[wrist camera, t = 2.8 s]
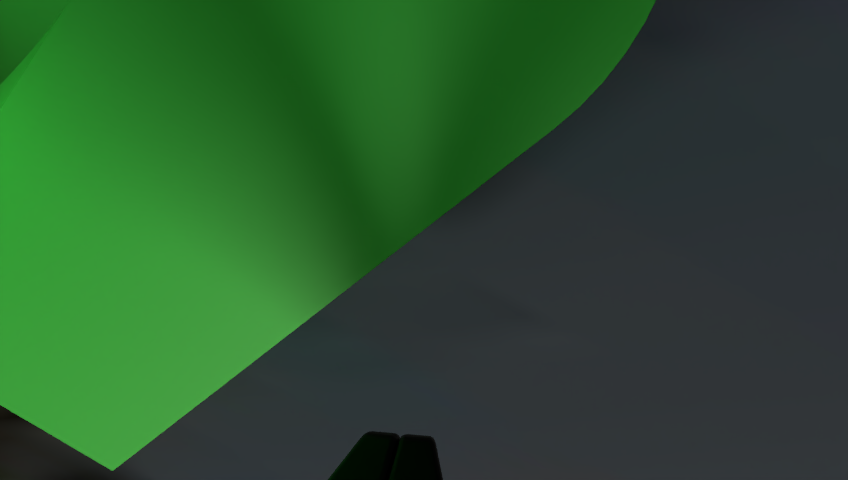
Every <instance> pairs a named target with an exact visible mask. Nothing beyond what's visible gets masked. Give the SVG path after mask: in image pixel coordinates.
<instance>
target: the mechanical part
mask: <svg viewBox="0 0 848 480" xmlns="http://www.w3.org/2000/svg"><path fill="white" fill-rule="evenodd" d="M655 1H656V0H0V405H1V406H3V407H5V408H7V409H8V410H10V411H12V412H13V413H15V414H17V415H18V416H20V417H22V418H23V419H25V420H27V421H29V422H30V423H32V424H34V425H35V426H37V427H39V428H40V429H42V430H44V431H46V432H47V433H49V434H51V435H52V436H54V437H56V438H57V439H59V440H61V441H62V442H64V443H66V444H68V445H69V446H71V447H73V448H74V449H76V450H78V451H79V452H81V453H83V454H84V455H86V456H88V457H90V458H91V459H93V460H95V461H96V462H98V463H100V464H101V465H103V466H105V467H107V468H108V469H110V470H112V471H113V470H114V469H116V468H117V467H118V466H120V465H121V464H122V463H123V462H125V461H126V460H127V459H129V458H130V457H131V456H132V455H134V454H135V453H136V452H138V451H139V450H140V449H142V448H143V447H144V446H145V445H147V444H148V443H149V442H151V441H152V440H153V439H154V438H156V437H157V436H158V435H160V434H161V433H162V432H163V431H165V430H166V429H167V428H169V427H170V426H171V425H172V424H174V423H175V422H176V421H178V420H179V419H180V418H182V417H183V416H184V415H185V414H187V413H188V412H189V411H191V410H192V409H193V408H194V407H196V406H197V405H198V404H200V403H201V402H202V401H203V400H205V399H206V398H207V397H209V396H210V395H211V394H212V393H214V392H215V391H216V390H218V389H219V388H220V387H222V386H223V385H224V384H225V383H227V382H228V381H229V380H231V379H232V378H233V377H234V376H236V375H237V374H238V373H240V372H241V371H242V370H243V369H245V368H246V367H247V366H249V365H250V364H251V363H252V362H254V361H255V360H256V359H258V358H259V357H260V356H261V355H263V354H264V353H265V352H267V351H268V350H269V349H271V348H272V347H273V346H274V345H276V344H277V343H278V342H280V341H281V340H282V339H283V338H285V337H286V336H287V335H289V334H290V333H291V332H292V331H294V330H295V329H296V328H298V327H299V326H300V325H301V324H303V323H304V322H305V321H307V320H308V319H309V318H311V317H312V316H313V315H314V314H316V313H317V312H318V311H320V310H321V309H322V308H323V307H325V306H326V305H327V304H329V303H330V302H331V301H332V300H334V299H335V298H336V297H338V296H339V295H340V294H341V293H343V292H344V291H345V290H347V289H348V288H349V287H351V286H352V285H353V284H354V283H356V282H357V281H358V280H360V279H361V278H362V277H363V276H365V275H366V274H367V273H369V272H370V271H371V270H372V269H374V268H375V267H376V266H378V265H379V264H380V263H381V262H383V261H384V260H385V259H387V258H388V257H389V256H391V255H392V254H393V253H394V252H396V251H397V250H398V249H400V248H401V247H402V246H403V245H405V244H406V243H407V242H409V241H410V240H411V239H412V238H414V237H415V236H416V235H418V234H419V233H420V232H421V231H423V230H424V229H425V228H427V227H428V226H429V225H430V224H432V223H433V222H434V221H436V220H437V219H438V218H440V217H441V216H442V215H443V214H445V213H446V212H447V211H449V210H450V209H451V208H452V207H454V206H455V205H456V204H458V203H459V202H460V201H461V200H463V199H464V198H465V197H467V196H468V195H469V194H470V193H472V192H473V191H474V190H476V189H477V188H478V187H480V186H481V185H482V184H483V183H485V182H486V181H487V180H489V179H490V178H491V177H492V176H494V175H495V174H496V173H498V172H499V171H500V170H501V169H503V168H504V167H505V166H507V165H508V164H509V163H510V162H512V161H513V160H514V159H516V158H517V157H518V156H520V155H521V154H522V153H523V152H525V151H526V150H527V149H529V148H530V147H531V146H532V145H534V144H535V143H536V142H538V141H539V140H540V139H541V138H543V137H544V136H545V135H547V134H548V133H549V132H550V131H552V130H553V129H554V128H556V127H557V126H558V125H559V124H560V123H561V122H563V121H564V120H565V119H566V118H567V117H568V116H570V115H571V114H572V113H573V112H574V111H575V110H576V109H578V108H579V107H580V106H581V105H582V104H583V103H584V102H585V101H586V100H587V99H588V97H589V96H590V95H591V94H592V93H593V92H594V91H595V90H596V89H597V88H598V87H599V86H600V85H601V84H602V83H603V82H604V80H605V79H606V78H607V77H608V75H609V74H610V73H611V71H612V70H613V69H614V68H615V66H616V65H617V64H618V62H619V61H620V60H621V59H622V57H623V56H624V55H625V53H626V52H627V50H628V48H629V47H630V45H631V44H632V42H633V41H634V39H635V37H636V36H637V34H638V33H639V31H640V29H641V28H642V26H643V25H644V23H645V21H646V19H647V17H648V15H649V13H650V11H651V9H652V7H653V5H654V3H655Z"/></svg>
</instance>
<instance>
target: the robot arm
mask: <svg viewBox="0 0 848 480" xmlns="http://www.w3.org/2000/svg"><path fill="white" fill-rule="evenodd" d="M328 480H443V478H442V473H441V468H440V463H439V458H438V453H437V448H436V443H435V440H434V439H433V438H432V437H431V436H422V435H410V434H406V435H403V436H401V438H400V437H399V435H397V434H395V433H386V432H374V431H371V432H367V433H366V434H364V435H363V436H362V437H361V438H360V440H359V441H358V442H357V443H356V445H355V446H354V447H353V448H352V450H351V451H350V452H349V454H348V455H347V456H346V457H345V459H344V460H343V461H342V462H341V464H340V465H339V466H338V467H337V469H336V470H335V471H334V473H333V474H332V475H331V476H330V478H329V479H328Z"/></svg>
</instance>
